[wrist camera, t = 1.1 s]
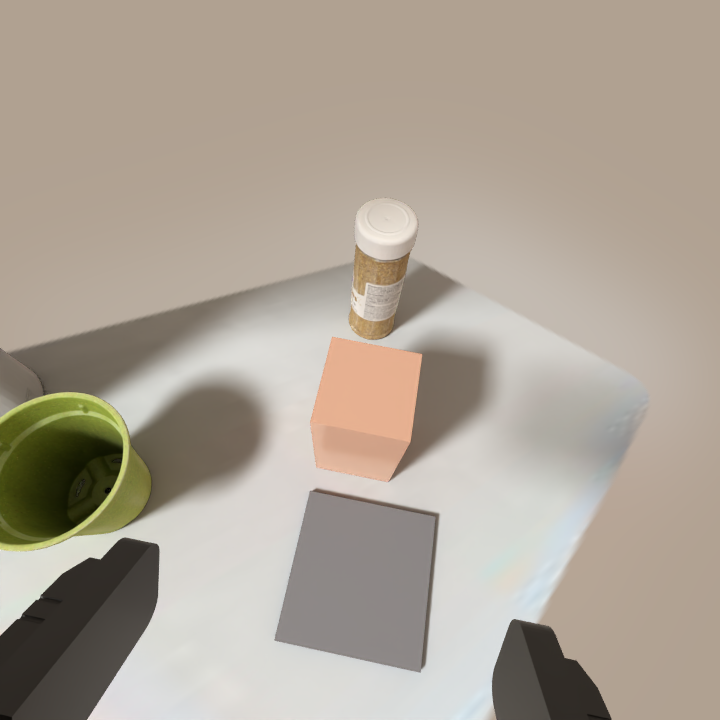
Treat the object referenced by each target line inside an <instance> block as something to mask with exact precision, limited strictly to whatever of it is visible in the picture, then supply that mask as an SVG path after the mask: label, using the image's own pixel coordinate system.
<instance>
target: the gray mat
mask: <svg viewBox="0 0 720 720" xmlns="http://www.w3.org/2000/svg"><path fill="white" fill-rule="evenodd" d="M434 528H435V517H434V516H430V515H425V514H420V513H415V512H410V511H405V510H401V509H396V508H391V507H386V506H381V505H376V504H371V503H367V502H362V501H357V500H352V499H347V498H342V497H338V496H333V495H328V494H323V493H318V492H313V491H310V493H309V498H308V502H307V506H306V510H305V514H304V519H303V523H302V527H301V531H300V535H299V540H298V544H297V548H296V552H295V556H294V560H293V565H292V569H291V573H290V577H289V581H288V586H287V590H286V594H285V598H284V602H283V607H282V611H281V615H280V619H279V623H278V628H277V632H276V636H275V641H279V642H284V643H288V644H293V645H297V646H302V647H307V648H311V649H316V650H320V651H325V652H329V653H334V654H338V655H343V656H347V657H352V658H357V659H361V660H366V661H370V662H375V663H379V664H384V665H388V666H393V667H397V668H402V669H407V670H411V671H416V672H420V673H421V663H422V653H423V642H424V632H425V621H426V611H427V601H428V590H429V580H430V569H431V559H432V548H433V538H434Z"/></svg>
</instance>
